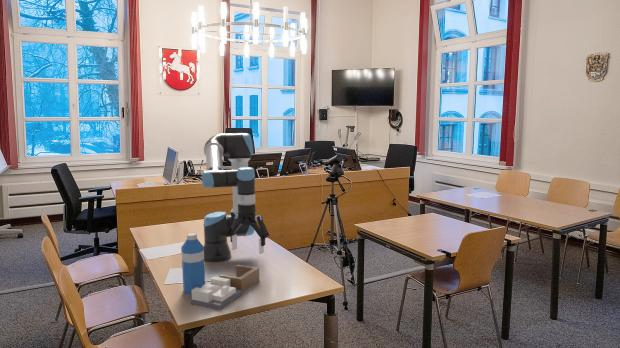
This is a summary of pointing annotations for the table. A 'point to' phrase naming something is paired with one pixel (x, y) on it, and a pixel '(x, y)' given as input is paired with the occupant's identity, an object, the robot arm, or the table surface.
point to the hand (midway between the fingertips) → (247, 251)
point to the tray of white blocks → (215, 294)
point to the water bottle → (192, 263)
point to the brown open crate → (243, 277)
